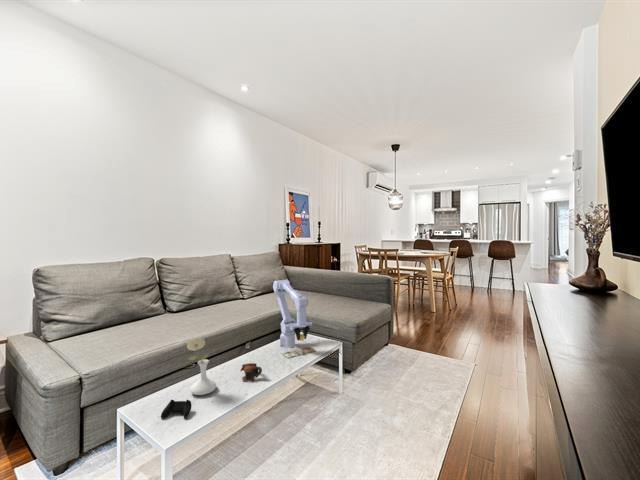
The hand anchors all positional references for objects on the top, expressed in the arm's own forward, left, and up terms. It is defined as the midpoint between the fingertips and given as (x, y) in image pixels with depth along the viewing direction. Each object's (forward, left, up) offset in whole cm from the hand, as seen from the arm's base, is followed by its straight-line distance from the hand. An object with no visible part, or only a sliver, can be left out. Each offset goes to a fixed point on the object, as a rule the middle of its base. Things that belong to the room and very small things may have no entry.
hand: (301, 339), depth 185 cm
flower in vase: (-38, -49, -9) cm, 63 cm away
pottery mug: (-20, -33, -9) cm, 40 cm away
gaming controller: (-39, -67, -9) cm, 78 cm away
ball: (0, 0, -1) cm, 1 cm away
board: (-2, -2, -9) cm, 9 cm away
